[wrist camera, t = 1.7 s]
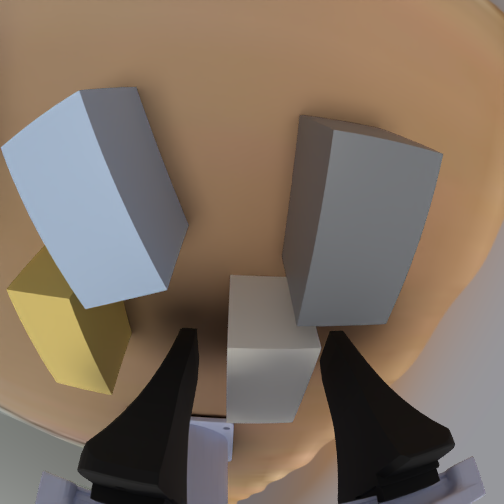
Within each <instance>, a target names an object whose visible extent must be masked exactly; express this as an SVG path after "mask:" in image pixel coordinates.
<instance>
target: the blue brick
mask: <svg viewBox="0 0 504 504" xmlns="http://www.w3.org/2000/svg"><path fill="white" fill-rule="evenodd" d="M1 150H2V152H3V155H4V158H5V161H6V163H7V166H8V168H9V171H10V173H11V176H12V178H13V181H14V183H15V185H16V188H17V190H18V192H19V194H20V197H21V199H22V201H23V203H24V205H25V207H26V209H27V211H28V213H29V216H30V218H31V220H32V222H33V223H34V225H35V227H36V229H37V231H38V233H39V235H40V237H41V239H42V240H43V242H44V244H45V246H46V248H47V249H48V251H49V253H50V255H51V256H52V258H53V260H54V261H55V263H56V265H57V266H58V268H59V270H60V271H61V273H62V275H63V276H64V278H65V279H66V281H67V283H68V284H69V286H70V287H71V289H72V290H73V292H74V293H75V295H76V296H77V298H78V299H79V301H80V302H81V304H82V305H83V306H84V308H85V309H88V308H93V307H97V306H101V305H106V304H110V303H114V302H119V301H123V300H127V299H132V298H136V297H140V296H144V295H148V294H153V293H157V292H161V291H165V290H167V289H168V286H169V283H170V279H171V276H172V273H173V270H174V267H175V264H176V261H177V258H178V255H179V252H180V249H181V246H182V243H183V240H184V237H185V234H186V231H187V229H188V226H189V225H188V222H187V220H186V217H185V215H184V213H183V210H182V208H181V205H180V203H179V200H178V198H177V195H176V193H175V190H174V188H173V185H172V183H171V180H170V178H169V175H168V173H167V170H166V168H165V165H164V162H163V160H162V157H161V154H160V152H159V149H158V147H157V144H156V141H155V139H154V136H153V133H152V130H151V128H150V125H149V122H148V119H147V117H146V114H145V111H144V108H143V105H142V103H141V100H140V97H139V94H138V91H137V88H136V87H119V88H101V89H88V90H79V91H77V92H76V93H74V94H72V95H71V96H69V97H68V98H66V99H65V100H63V101H62V102H60V103H58V104H57V105H56V106H54V107H53V108H51V109H50V110H48V111H47V112H45V113H44V114H43V115H41V116H40V117H38V118H37V119H36V120H34V121H33V122H32V123H30V124H29V125H28V126H26V127H25V128H24V129H23V130H21V131H20V132H19V133H18V134H16V135H15V136H14V137H13V138H12V139H10V140H9V141H8V142H7V143H6V144H4V145H3V146H2V147H1Z"/></svg>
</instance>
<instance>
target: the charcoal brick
mask: <svg viewBox="0 0 504 504" xmlns="http://www.w3.org/2000/svg"><path fill="white" fill-rule="evenodd" d="M442 157H443V154H442V153H440V152H438V151H435V150H433V149H431V148H429V147H426V146H424V145H422V144H419V143H417V142H414V141H412V140H409V139H407V138H404V137H402V136H399V135H397V134H394V133H391V132H389V131H386V130H383V129H380V128H376V127H371V126H366V125H361V124H356V123H351V122H345V121H339V120H333V119H327V118H320V117H313V116H306V115H300V117H299V126H298V135H297V144H296V152H295V161H294V169H293V177H292V185H291V193H290V201H289V209H288V216H287V223H286V231H285V238H284V245H283V252H282V259H283V264H284V268H285V273H286V277H287V282H288V287H289V291H290V296H291V301H292V306H293V310H294V315H295V320H296V325H297V326H350V325H374V324H386V323H387V320H388V318H389V316H390V314H391V312H392V309H393V307H394V305H395V302H396V300H397V298H398V295H399V293H400V291H401V288H402V286H403V283H404V281H405V278H406V276H407V273H408V271H409V268H410V265H411V263H412V260H413V257H414V254H415V252H416V249H417V246H418V243H419V240H420V237H421V234H422V231H423V228H424V225H425V221H426V218H427V215H428V212H429V208H430V205H431V201H432V198H433V194H434V190H435V186H436V182H437V178H438V174H439V170H440V166H441V161H442Z"/></svg>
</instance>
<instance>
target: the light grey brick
mask: <svg viewBox="0 0 504 504" xmlns="http://www.w3.org/2000/svg"><path fill="white" fill-rule="evenodd" d="M320 351H321V344H320V341H319V337H318V333H317V329H316V326H297V325H296V320H295V315H294V310H293V306H292V301H291V296H290V291H289V287H288V282H287V277H273V276H245V275H230V292H229V316H228V342H227V417H226V423H288V422H293V420H294V417H295V415H296V413H297V410H298V408H299V405H300V403H301V401H302V398H303V396H304V393H305V391H306V388H307V385H308V383H309V380H310V378H311V375H312V372H313V370H314V367H315V364H316V362H317V359H318V356H319V353H320Z"/></svg>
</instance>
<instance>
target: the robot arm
mask: <svg viewBox="0 0 504 504" xmlns="http://www.w3.org/2000/svg"><path fill="white" fill-rule="evenodd" d="M198 367H199V352H198V340H197V329H192V328H182V329H180V331H179V333H178V336H177V338H176V340H175V342H174V344H173V346H172V347H171V349H170V351H169V353H168V354H167V356H166V358H165V359H164V361H163V363H162V364H161V366H160V367H159V369H158V370H157V372H156V373H155V375H154V376H153V377H152V379H151V380H150V382H149V383H148V384H147V386H146V387H145V388H144V389H143V391H142V392H141V393H140V394H139V396H138V397H137V398H136V399H135V400H134V401H133V402H132V403H131V404H130V405H129V407H128V408H127V409H126V410H125V411H124V412H123V413H122V414H121V415H119V416H118V417H117V418H116V419H115V420H114V421H113V422H112V423H111V424H109V425H108V426H107V427H106V428H105V429H103V430H102V431H101V432H99V433H98V434H97V435H95V436H94V437H93V438H91V439H90V440H89V441H87V442H86V444H85V446H84V449H83V451H82V453H81V457H80V461H79V465H78V472H79V473H80V474H81V475H82V476H83V477H85V478H86V479H88V480H89V481H91V482H92V483H93V485H92V490H88V489H85V488H81V487H78V486H76V484H74V483H73V482H71V481H69V480H66V479H64V478H61V477H59V476H56V475H54V474H51V473H49V472H46V471H43V472H42V477H41V480H40V484H39V488H38V493H37V498H36V503H35V504H228V462H229V461H231V460H232V448H233V431H234V423H226V418H206V417H192V416H191V413H192V408H193V402H194V397H195V391H196V386H197V380H198ZM320 367H321V375H322V381H323V385H324V389H325V393H326V397H327V401H328V405H329V409H330V413H331V416H332V421H333V426H334V432H335V440H336V450H337V462H338V463H337V464H338V504H471V503H473V502H474V501H476V500H478V499H479V498H481V497H482V496H484V495H485V494H486V493H485V489H484V486H483V483H482V480H481V477H480V474H479V471H478V468H477V465H476V462H475V459H474V457H473V456H472V457H470V458H468V459H466V460H464V461H462V462H459V463H458V464H456V465H454V466H452V467H450V468H449V469H447V470H446V471H445V472H443V473H440V474H438V472H437V469H436V468H438V467H439V462H438V460H439V459H440V458H441V457H443V456H444V455H446V454H447V453H448V452H449V451H451V450H452V449H453V448H454V446H455V443H454V440H453V437H452V435H451V433H450V430H449V429H448V428H446V427H444V426H442V425H441V424H439V423H437V422H435V421H433V420H431V419H430V418H428V417H427V416H425V415H424V414H422V413H420V412H419V411H418V410H416V409H415V408H414V407H412V406H411V405H410V404H408V403H407V402H406V401H405V400H403V399H402V398H401V397H400V396H399V395H398V394H397V393H395V392H394V391H393V390H392V389H391V388H390V387H389V386H388V385H387V384H386V383H385V382H384V381H383V380H382V379H381V378H380V377H379V375H378V374H377V373H376V372H375V371H374V370H373V369H372V367H371V366H370V365H369V364H368V363H367V361H366V360H365V359H364V358H363V356H362V355H361V354H360V353H359V351H358V350H357V349H356V347H355V346H354V345H353V343H352V342H351V341H350V339H349V338H348V337H347V335H346V334H345V333H344V332H343V331H330V333H329V336H328V338H327V341H326V344H325V347H324V350H323V352H322V355H321V358H320Z"/></svg>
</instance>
